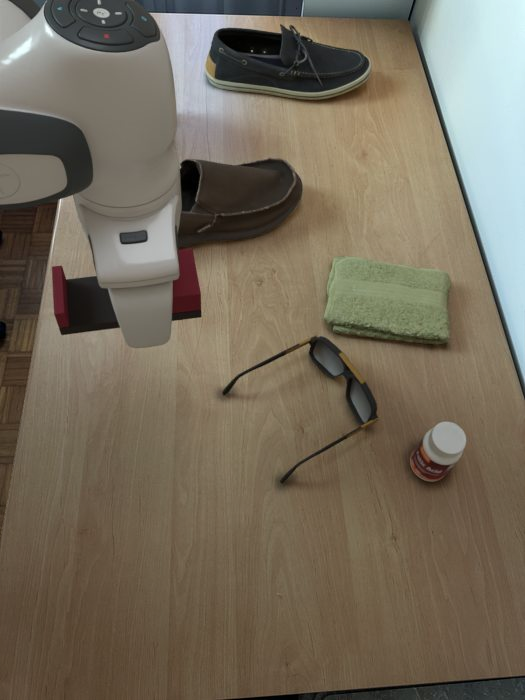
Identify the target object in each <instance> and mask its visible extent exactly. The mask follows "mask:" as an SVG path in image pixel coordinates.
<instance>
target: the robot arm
mask: <svg viewBox="0 0 525 700" xmlns="http://www.w3.org/2000/svg"><path fill="white" fill-rule="evenodd" d="M177 111H178V109H177V98H176V87H175V78H174V73H173V67H172V61H171V56H170V52H169V47H168V44H167V41H166V39H165V37H164V34H163V31H162V28H160V26H159V24H158V23H157V21H156V19H155V18H154V17H153V15H152V14H151V13H150V12H149V11H148V10H147V9H146V8H145V7H144V6H142V4H140V3H139V2H137V1H136V0H46V1H45V2H44V3H43V5H42V6H41V8H40V6H39V5H38V4H37V2H36V1H35V0H0V211H12V210H21V209H28V208H29V209H30V208H33V207H37V206H40V205H44V204H48V203H51V202H55V201H59V200H62V199H65V198H68V197H69V198H70V197H71V196H72V198H73V202H74V206H75V209H76V213H77V218H78V220H79V222H80V224H81V227H82V230H83V232H84V234H85V237H86V238H87V240H88V242H89V247H90V250H91V255H92V261H93V266H94V267H93V268H94V272H95V276H97V279H98V283H99V286H100V287H101V288H108V291H109V295H110V299H111V302H112V305H113V309H114V312H115V315H116V317H117V320H118V323H119V326H120V328H119V329H120V331H121V334H122V336H123V340H124V341H125V344H126V345H127V346H128V347H130V348H132V349H147V348H154V347H159V346H162V345H166V344H167V343H168V342H169V341H170V339H171V335H172V324H173V321H172V302H173V280H177V279H178V278H179V254H178V250H179V248H178V229H179V223H180V214H181V210H182V200H181V182H180V168H181V166H180V158H179V154H178V150H177V148H176V146H175V144H174V140H175V137H176V133H177V129H178V112H177Z"/></svg>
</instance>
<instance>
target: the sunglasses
mask: <svg viewBox="0 0 525 700" xmlns="http://www.w3.org/2000/svg"><path fill="white" fill-rule="evenodd" d="M308 344H309V346H310V347H309V351H308V355H309V357H310V359H311V361H312V362H314V364H316V366H317V367H318V368H319V369H320V370H321V371H322V372H323V373H324V374H325V375H326V376H327V377H329V378H330V379H336V378H339V377H341V376H342V377H343V378H344V379H345V381H346V383H345V399H346V402H347V404H348V406H349V407H350V409H351V411H352V413H353V415H354V417H355V418H356V420H357V422H358V423H359V424H360V426H358V427H357V428H354V429H353V430H351V431H349V432H347V433H346V434H345V435H343V436H341V437H340V438H338V439H336V440H334V441H333V442H331V443H329V444H327V445H325V446H324V447H322V448H321V449H319V450H317V451H316V452H314V453H312V454H310V455H309V456H306V457H305V458H303V459H302V460H300V461H299V462H297V463H295V464H294V465H293V467H292V468H290V469H289V470H288V471H287V472H286V473H285V474H284V475H283V476H282V477H281V478H280V479H279V483H280V484H283V483H285V482H286V481H287V480H288V479H290V478H289V477H291V475H292V474H293V473H294V472H295V471H296V470H297V469H298V468H299V466H301V465H302V464H305V463H306V462H308V461H309V460H311V459H313V458H315V457H316V456H318V455H320V454H323V453H324V452H326V451H328V450H329V449H331V448H333V447H334V446H336V445H338V444H340V443H342V442H343V441H345V440H348V439H349V438H351V437H353V436H355V435H356V434H358V433H360V432H361V431H363V430H364V429H366V428H368V427H370V426H371V425H373V424H375V423H377V422H378V421H379V420H380V419H381V417H380V415H379V414H378V404H377V400H376V399H375V396H374V395H373V392H372V390H371V388H370V387H369V385H368V383H367V381H366V380H365V378H364V377H363V376H362V375H361V373H360V372H359V371H358V369H357V368H356V366H355V365H354V364H353V363H352V362H351V360H350V359H349V358H348V357H347V355H346V354H345V352H343V351H342V350H341V349H340V348H339V347H338V346H337V345H336V344H334V343H333V341H332V340H330V339H329V338H328V337H326V336H322V335H320V336H319V335H318V334H315V335H313V336H310V337H308V338H306V339H305V340H303V341H301V342H299V343H297V344H295V345H292V346H291V347H288V348H287V349H284V350H282V351H281V352H278V353H277V354H275V355H273V356H270V357H269V358H267V359H265V360H263V361H262V362H259V363H257V364H255V365H253V366H252V367H250V368H248V369H245V370H244V371H242V372H240V373H238V374H236V376H234V378H232V380H230V381H229V383H227V385H226V386H225V388H223V390H222V392H221V395H222V396H226V395H227V394H229V393H230V392H231V390H232V389H233V387H234V385H235V384H236V383H237V381H238V380H239V379H240V378H242V377H243V376H245V375H247V374H248V373H252V372H253V371H256V370H257V369H259V368H262V367H264V366H266V365H268V364H270V363H273V362H275V361H276V360H278V359H281V358H282V357H284V356H286V355H288V354H290V353H292V352H294V351H296V350H299V349H300V348H302V347H304V346H306V345H308Z"/></svg>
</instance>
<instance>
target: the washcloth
mask: <svg viewBox="0 0 525 700" xmlns="http://www.w3.org/2000/svg"><path fill="white" fill-rule="evenodd" d="M451 283H452V281H451V278H450V275H449V273H448V272H447V271H445V270H443V269H437V268H436V269H435V268H422V267H417V266H410V265H406V264H399V263H390V262H384V261H378V260H373V259H368V258H364V257H359V256H358V257H357V256H344V255H343V256H336V257H334V258H333V260H332V264H331V270H330V273H329V276H328V279H327V283H326V294H327V301H326V307H325V311H324V315H323V322H325V323H326V324H327V325H330V326H332V325H333V326H332V327H333V328H332V333H335V334H338V335H342V334H344V335H349V336H358V337H361V338H362V337H363V338H366V337H367V338H369V337H370V338H374V339H381V340H390V341H397V342H401V341H402V342H406V343H416V344H417V343H419V344H421V343H422V344H425V345H426V344H427V345H428V344H432V345H433V346H434V345H436V346H437V345H441V344H442V345H443V344H447V343H449V342H450V340H451V331H450V330H451V327H450V323H449V320H450V312H449V311H448V299H449V296H450V291H451V290H450V289H451V287H452V284H451Z"/></svg>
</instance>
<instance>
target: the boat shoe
mask: <svg viewBox="0 0 525 700" xmlns="http://www.w3.org/2000/svg"><path fill="white" fill-rule="evenodd" d="M279 27H280V32H274V31H268V30H261V29H253V28H242V27H221V28H219V29H217V30H216V31H215V32H214V33H213V36H212V40H211V43H210V47H209V51H208V54H207V56H206V60H205V63H204V71H205V74H206V77H207V80H208V81H209V82H210V84H212V86H214V87H216V88H218V89H222V90H228V91H236V92H246V93H247V92H248V93H255V94H263V95H270V96H276V97H282V98H288V99H297V100H310V101H317V100H326V99H330V98H334V97H338V96H341V95H343V94H346V93H349V92H351V91H353V90H356V89H357V88H359V87H360V86H362V85H363V84H364V83H366V82H367V80H369V78H370V76H371V73H372V67H373V66H372V62H371V59H370V58H369V57H368V56H367V55H366V54H364V53H362V52H361V51H359V50H357V49H351V48H343V47H337V46H332V45H328V44H325V43H320V42H316V41H314V40H313V39H312V38H310V37H308V36H305V35H303V34H301V32H299V31H298V30H297V28H296V27H295V26H294V25H293V24H289V25H288V27H289V28H287V27H286V26H284V25H283V24H282V23H280V24H279Z"/></svg>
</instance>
